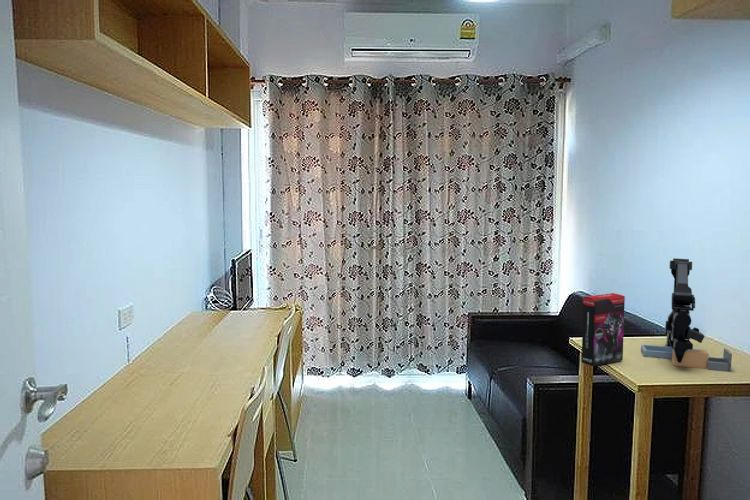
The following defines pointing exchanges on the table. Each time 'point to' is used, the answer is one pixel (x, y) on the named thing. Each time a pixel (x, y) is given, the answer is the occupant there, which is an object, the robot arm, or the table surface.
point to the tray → (656, 351)
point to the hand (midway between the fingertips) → (678, 360)
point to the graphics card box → (603, 329)
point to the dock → (720, 362)
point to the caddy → (692, 358)
